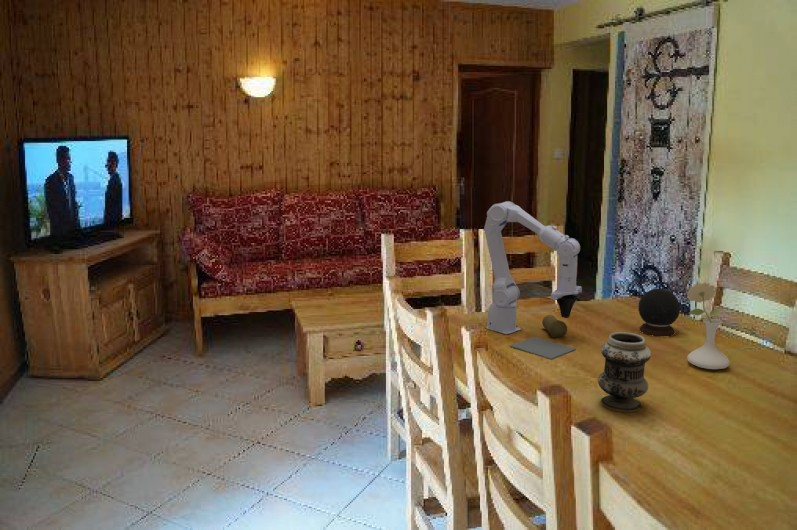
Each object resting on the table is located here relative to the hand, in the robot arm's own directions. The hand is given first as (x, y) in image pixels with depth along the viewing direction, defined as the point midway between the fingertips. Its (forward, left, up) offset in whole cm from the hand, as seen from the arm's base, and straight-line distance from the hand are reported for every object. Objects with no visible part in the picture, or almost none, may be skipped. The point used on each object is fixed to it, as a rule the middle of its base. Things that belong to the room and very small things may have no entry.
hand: (565, 317), depth 214 cm
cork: (-2, 0, -5) cm, 5 cm away
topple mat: (0, -12, -8) cm, 14 cm away
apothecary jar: (+39, -32, -8) cm, 51 cm away
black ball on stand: (+16, +31, -8) cm, 36 cm away
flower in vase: (+41, +11, -8) cm, 43 cm away
